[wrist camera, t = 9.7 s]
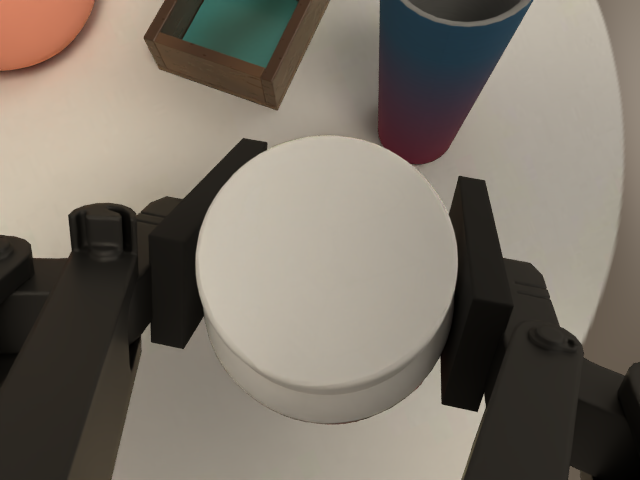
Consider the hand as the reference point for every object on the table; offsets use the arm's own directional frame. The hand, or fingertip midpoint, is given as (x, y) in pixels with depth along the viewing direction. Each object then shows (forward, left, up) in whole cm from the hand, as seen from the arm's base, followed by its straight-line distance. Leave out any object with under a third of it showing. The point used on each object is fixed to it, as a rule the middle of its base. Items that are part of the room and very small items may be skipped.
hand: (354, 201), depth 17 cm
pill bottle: (-1, +4, -4) cm, 5 cm away
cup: (0, -13, -18) cm, 22 cm away
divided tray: (+14, -20, -18) cm, 30 cm away
